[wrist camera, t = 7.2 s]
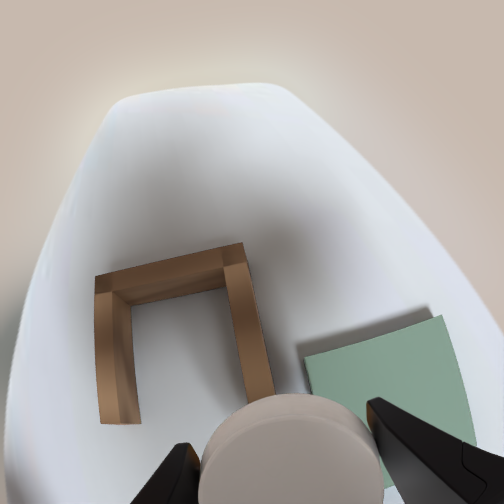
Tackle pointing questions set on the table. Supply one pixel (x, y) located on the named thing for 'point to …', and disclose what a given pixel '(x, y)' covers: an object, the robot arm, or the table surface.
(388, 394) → the green mat
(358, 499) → the supplement bottle
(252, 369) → the frame
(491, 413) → the table surface
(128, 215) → the table surface
